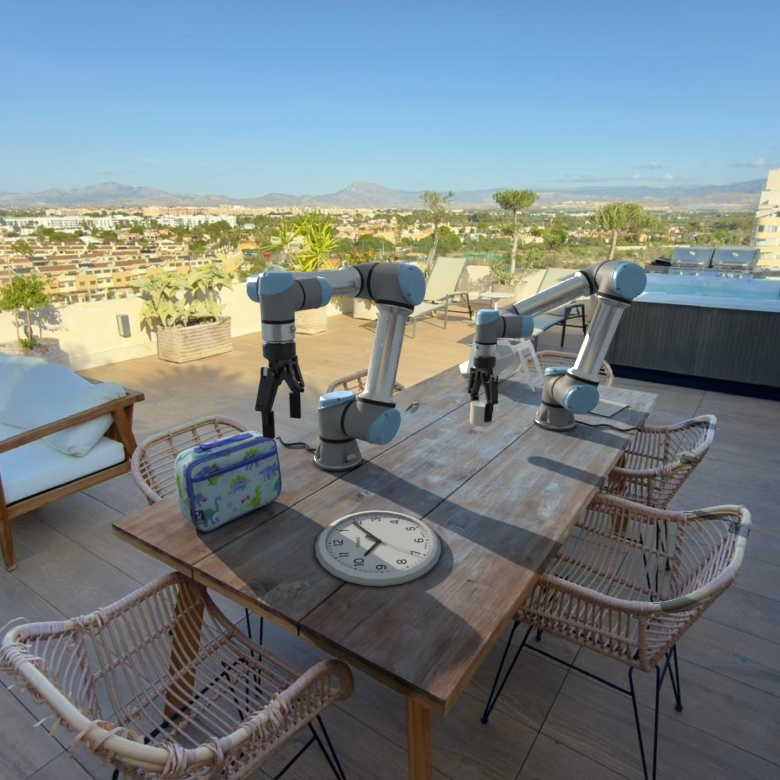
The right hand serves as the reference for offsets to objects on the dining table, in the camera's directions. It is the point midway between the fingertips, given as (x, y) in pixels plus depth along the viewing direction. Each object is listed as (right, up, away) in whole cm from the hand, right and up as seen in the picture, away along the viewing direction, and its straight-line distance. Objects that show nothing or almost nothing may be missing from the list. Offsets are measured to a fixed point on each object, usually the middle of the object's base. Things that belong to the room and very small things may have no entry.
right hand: (480, 417), depth 186 cm
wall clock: (-35, -28, -61) cm, 75 cm away
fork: (-23, +3, +37) cm, 44 cm away
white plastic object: (+20, +12, +68) cm, 72 cm away
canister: (0, -2, +1) cm, 2 cm away
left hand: (-58, +1, -60) cm, 83 cm away
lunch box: (-74, -23, -48) cm, 91 cm away
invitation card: (+59, +2, +41) cm, 72 cm away
